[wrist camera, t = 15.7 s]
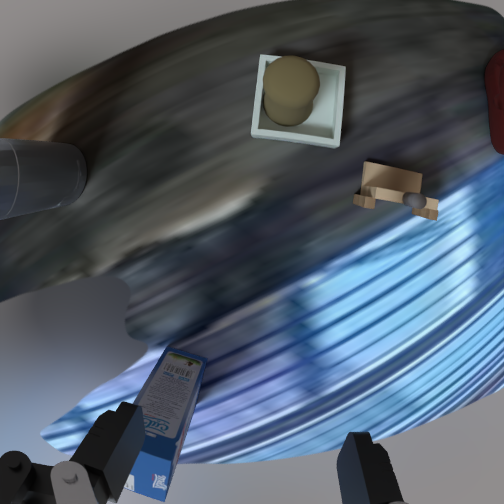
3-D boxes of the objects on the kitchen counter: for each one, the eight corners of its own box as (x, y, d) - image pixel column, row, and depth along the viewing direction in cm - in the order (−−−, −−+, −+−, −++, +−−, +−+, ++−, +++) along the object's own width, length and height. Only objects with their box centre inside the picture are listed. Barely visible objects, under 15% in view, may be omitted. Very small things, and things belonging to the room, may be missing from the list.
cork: (296, 71, 33) (302, 36, 23) (322, 112, 34) (340, 90, 24) (253, 94, 34) (243, 66, 24) (279, 135, 35) (280, 121, 25)
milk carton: (196, 405, 46) (164, 502, 27) (159, 393, 46) (115, 484, 27) (207, 357, 44) (171, 461, 24) (167, 345, 44) (111, 439, 24)
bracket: (352, 203, 37) (375, 211, 29) (358, 160, 36) (382, 156, 27) (419, 215, 37) (453, 226, 28) (424, 175, 36) (460, 176, 27)
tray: (252, 137, 36) (250, 134, 33) (261, 63, 34) (260, 54, 31) (334, 148, 36) (339, 146, 33) (340, 74, 34) (345, 66, 31)
